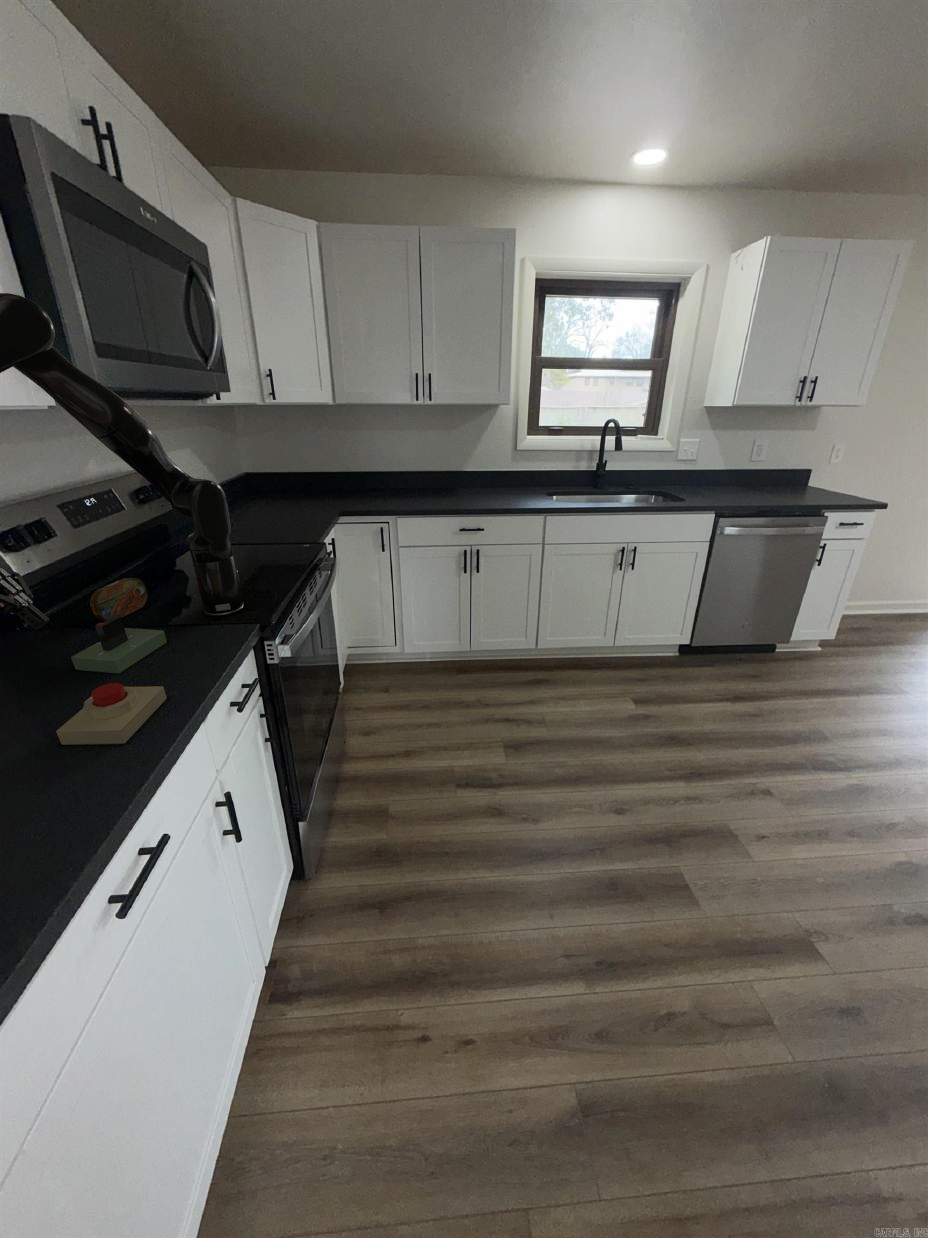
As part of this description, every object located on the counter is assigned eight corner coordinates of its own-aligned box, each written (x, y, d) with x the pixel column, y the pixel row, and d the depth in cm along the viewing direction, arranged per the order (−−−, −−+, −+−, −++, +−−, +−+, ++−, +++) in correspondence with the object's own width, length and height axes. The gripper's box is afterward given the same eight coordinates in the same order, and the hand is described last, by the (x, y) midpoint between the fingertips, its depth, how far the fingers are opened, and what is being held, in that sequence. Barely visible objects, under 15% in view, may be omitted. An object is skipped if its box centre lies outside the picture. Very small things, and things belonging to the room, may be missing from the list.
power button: (106, 693, 85) (102, 683, 85) (131, 692, 86) (128, 682, 85) (88, 707, 81) (85, 697, 81) (116, 707, 82) (112, 696, 81)
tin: (104, 626, 120) (93, 594, 116) (93, 625, 120) (82, 593, 117) (152, 603, 133) (143, 573, 130) (142, 602, 134) (133, 572, 130)
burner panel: (127, 639, 113) (123, 627, 112) (167, 642, 112) (163, 629, 111) (75, 670, 101) (70, 656, 100) (119, 673, 99) (114, 659, 98)
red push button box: (112, 699, 91) (104, 678, 89) (167, 698, 91) (160, 677, 89) (61, 745, 79) (51, 721, 77) (124, 743, 79) (116, 720, 77)
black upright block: (121, 639, 107) (113, 615, 104) (128, 639, 106) (120, 615, 104) (103, 650, 102) (94, 625, 100) (109, 650, 102) (101, 625, 100)
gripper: (-59, 534, 71) (47, 623, 79) (-13, 524, 83) (76, 602, 90) (-107, 566, 70) (6, 652, 78) (-53, 551, 82) (40, 627, 90)
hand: (43, 625), depth 84 cm, fingers closed
